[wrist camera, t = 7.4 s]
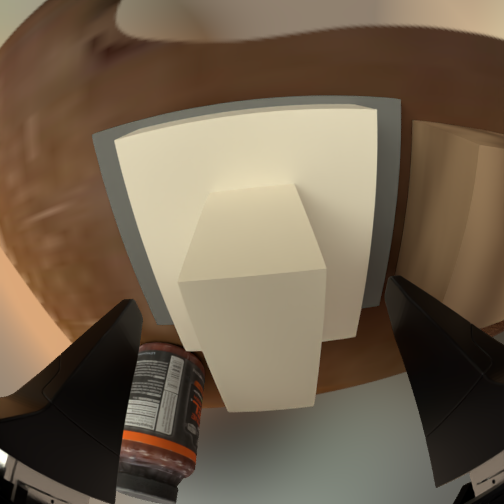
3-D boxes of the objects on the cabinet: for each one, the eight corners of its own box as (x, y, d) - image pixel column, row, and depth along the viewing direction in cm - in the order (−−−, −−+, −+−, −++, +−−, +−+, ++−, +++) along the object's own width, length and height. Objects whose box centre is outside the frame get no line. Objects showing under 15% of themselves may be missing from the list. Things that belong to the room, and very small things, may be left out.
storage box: (509, 135, 10) (566, 164, 6) (479, 270, 16) (515, 315, 12) (412, 120, 11) (479, 144, 7) (392, 285, 16) (423, 345, 12)
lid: (353, 104, 10) (471, 140, 4) (345, 305, 16) (379, 418, 10) (138, 129, 11) (23, 192, 4) (192, 319, 17) (171, 433, 10)
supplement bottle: (208, 385, 22) (197, 510, 13) (142, 377, 22) (115, 493, 12) (203, 342, 19) (184, 502, 9) (124, 333, 19) (79, 475, 9)
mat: (394, 98, 10) (400, 99, 10) (375, 299, 17) (378, 305, 16) (97, 132, 11) (91, 134, 11) (159, 318, 18) (157, 325, 17)
